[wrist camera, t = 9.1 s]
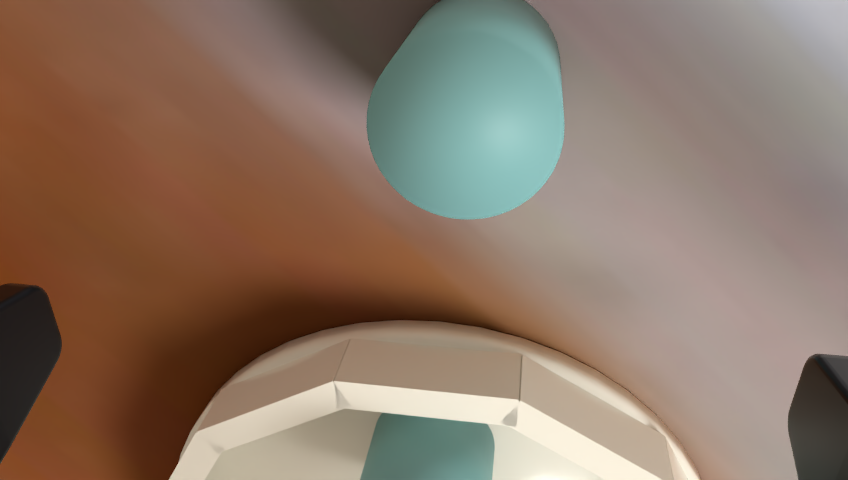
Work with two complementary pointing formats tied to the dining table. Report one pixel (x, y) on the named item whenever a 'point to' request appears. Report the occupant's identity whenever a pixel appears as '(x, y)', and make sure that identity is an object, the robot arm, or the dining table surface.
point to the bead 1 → (470, 109)
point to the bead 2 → (429, 449)
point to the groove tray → (425, 408)
